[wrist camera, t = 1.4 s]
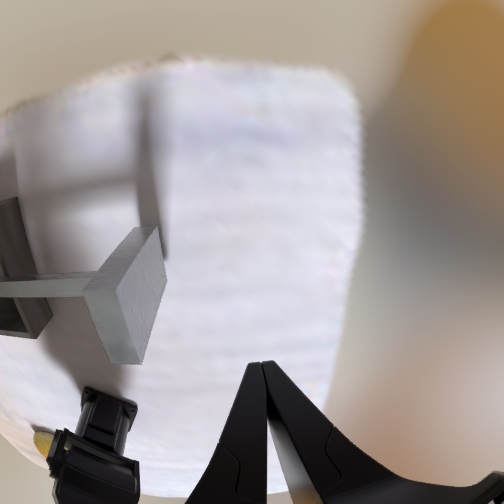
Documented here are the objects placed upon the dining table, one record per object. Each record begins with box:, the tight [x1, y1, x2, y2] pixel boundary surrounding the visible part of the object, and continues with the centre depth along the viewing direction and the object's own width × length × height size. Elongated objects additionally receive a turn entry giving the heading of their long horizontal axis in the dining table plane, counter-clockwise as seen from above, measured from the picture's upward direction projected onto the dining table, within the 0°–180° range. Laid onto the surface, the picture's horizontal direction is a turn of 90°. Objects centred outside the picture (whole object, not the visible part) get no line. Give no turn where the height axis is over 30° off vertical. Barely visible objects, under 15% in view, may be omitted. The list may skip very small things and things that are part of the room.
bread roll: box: [34, 431, 68, 458], centre depth 28 cm, size 8×9×4 cm
